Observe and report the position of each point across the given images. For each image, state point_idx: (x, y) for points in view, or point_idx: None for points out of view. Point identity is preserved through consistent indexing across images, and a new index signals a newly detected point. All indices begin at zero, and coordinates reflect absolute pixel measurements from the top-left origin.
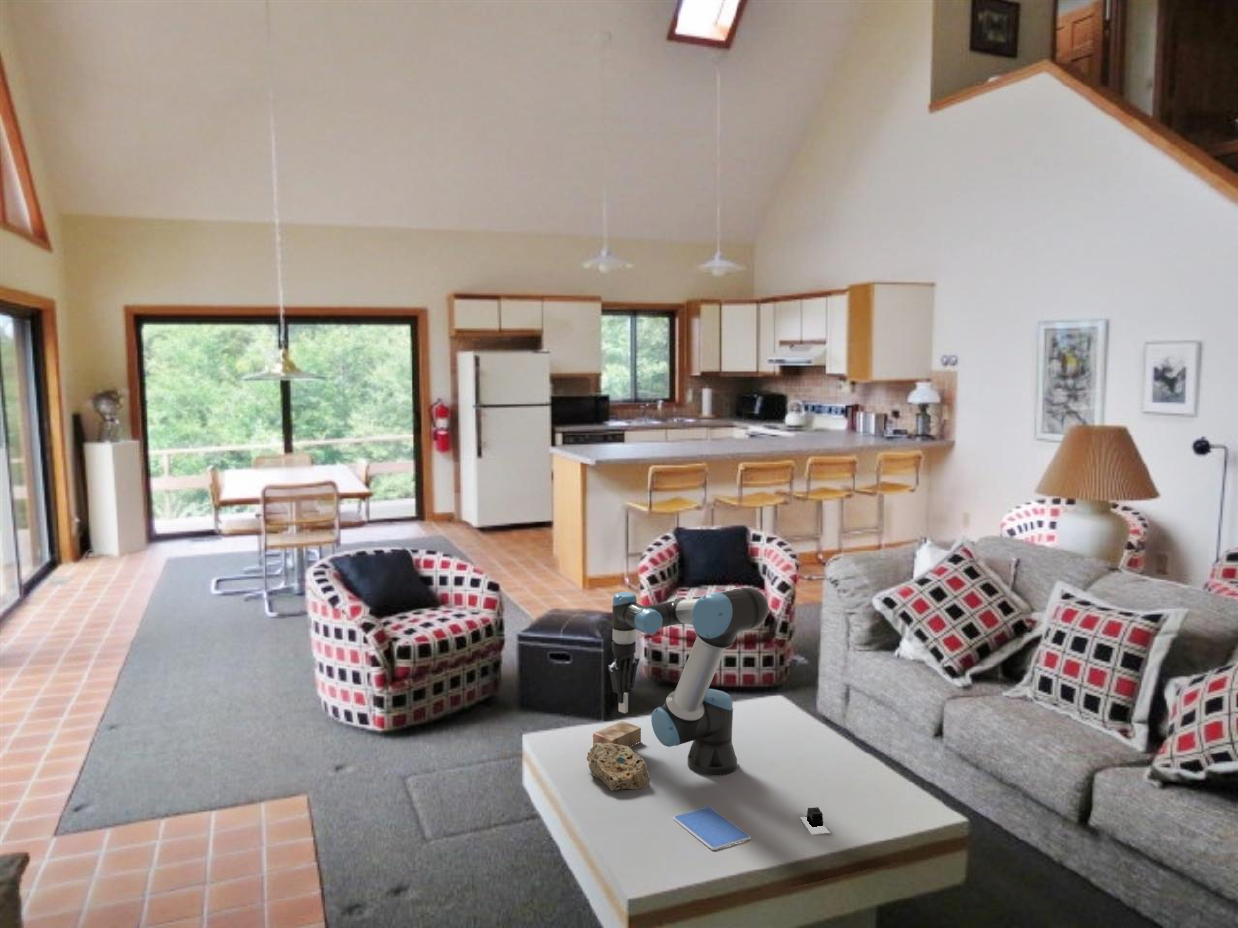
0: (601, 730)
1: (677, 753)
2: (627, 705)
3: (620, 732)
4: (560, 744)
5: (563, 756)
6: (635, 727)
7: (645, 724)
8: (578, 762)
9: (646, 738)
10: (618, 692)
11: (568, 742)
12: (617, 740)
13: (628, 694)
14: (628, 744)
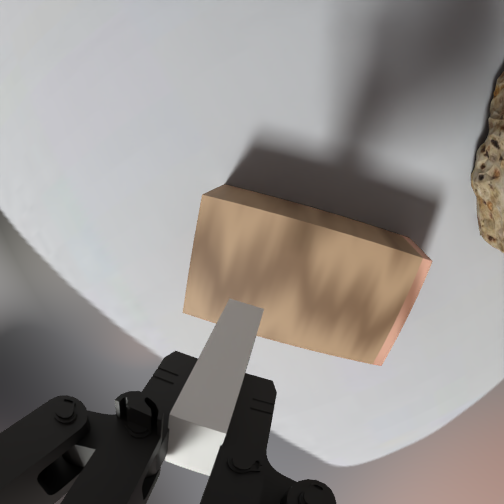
0: (336, 351)
1: (248, 3)
2: (219, 328)
3: (319, 265)
4: (377, 412)
5: (456, 368)
6: (216, 222)
7: (85, 245)
8: (487, 312)
9: (179, 180)
10: (333, 496)
11: (356, 403)
12: (389, 243)
13: (150, 389)
14: (306, 208)
